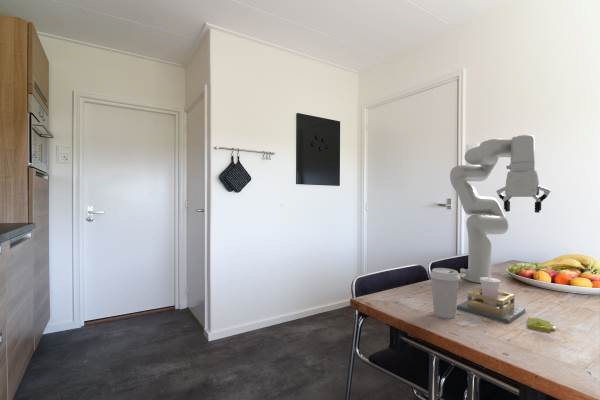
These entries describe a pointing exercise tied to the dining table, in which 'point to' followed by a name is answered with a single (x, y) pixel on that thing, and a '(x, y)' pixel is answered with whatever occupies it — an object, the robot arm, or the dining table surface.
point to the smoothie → (490, 288)
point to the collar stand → (501, 312)
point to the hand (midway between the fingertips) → (521, 211)
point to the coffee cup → (444, 291)
